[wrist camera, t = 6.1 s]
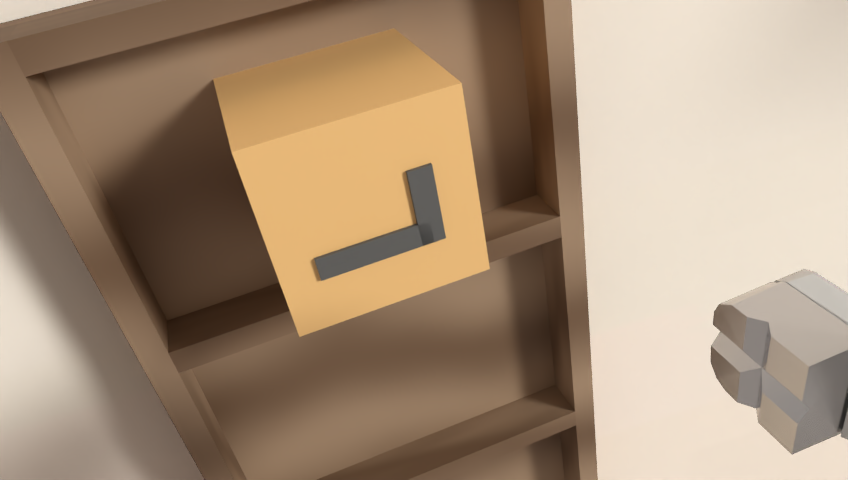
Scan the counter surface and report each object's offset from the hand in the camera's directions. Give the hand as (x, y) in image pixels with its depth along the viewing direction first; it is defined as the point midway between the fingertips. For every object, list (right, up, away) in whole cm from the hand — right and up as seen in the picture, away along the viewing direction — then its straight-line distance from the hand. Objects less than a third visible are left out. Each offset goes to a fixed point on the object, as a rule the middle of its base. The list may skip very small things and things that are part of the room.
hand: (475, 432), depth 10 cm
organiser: (-2, -1, +15) cm, 15 cm away
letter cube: (-3, +6, +10) cm, 12 cm away
